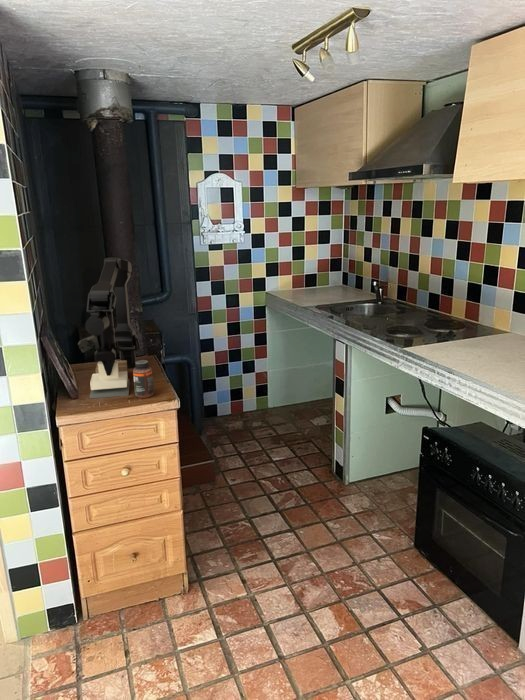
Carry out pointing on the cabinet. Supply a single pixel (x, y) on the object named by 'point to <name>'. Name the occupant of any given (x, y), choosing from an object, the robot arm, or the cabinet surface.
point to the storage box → (121, 366)
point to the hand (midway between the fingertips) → (109, 373)
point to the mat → (110, 392)
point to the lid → (108, 378)
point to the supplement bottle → (143, 379)
